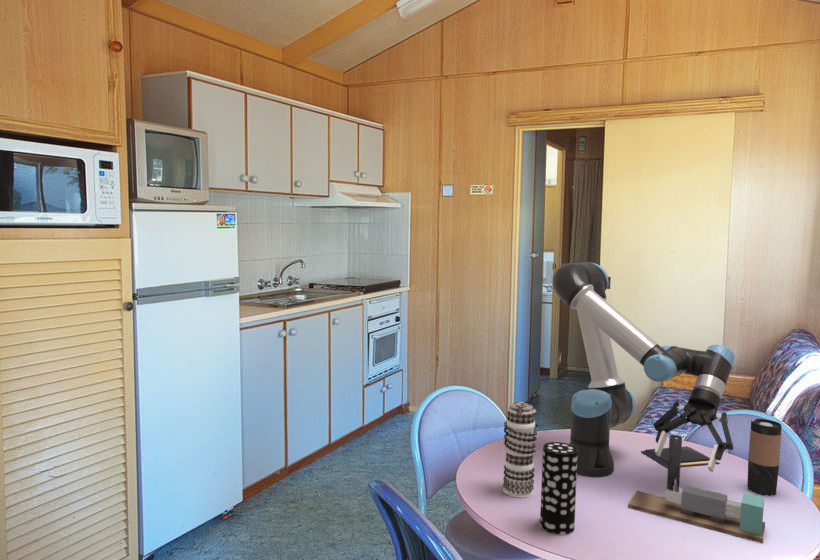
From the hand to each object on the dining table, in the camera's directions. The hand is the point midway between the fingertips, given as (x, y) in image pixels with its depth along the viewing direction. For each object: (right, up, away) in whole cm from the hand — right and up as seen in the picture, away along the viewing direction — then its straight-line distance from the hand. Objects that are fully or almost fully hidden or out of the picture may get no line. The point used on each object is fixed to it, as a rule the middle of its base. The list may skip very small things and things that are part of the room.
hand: (682, 461), depth 157 cm
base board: (+2, -13, -3) cm, 14 cm away
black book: (+16, -11, +38) cm, 43 cm away
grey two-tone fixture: (+4, -11, -5) cm, 13 cm away
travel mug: (+29, -13, +14) cm, 34 cm away
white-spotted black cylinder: (-36, -13, -9) cm, 39 cm away
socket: (+12, -14, -10) cm, 21 cm away
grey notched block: (+3, -13, -4) cm, 15 cm away
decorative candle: (-42, -12, +10) cm, 45 cm away
